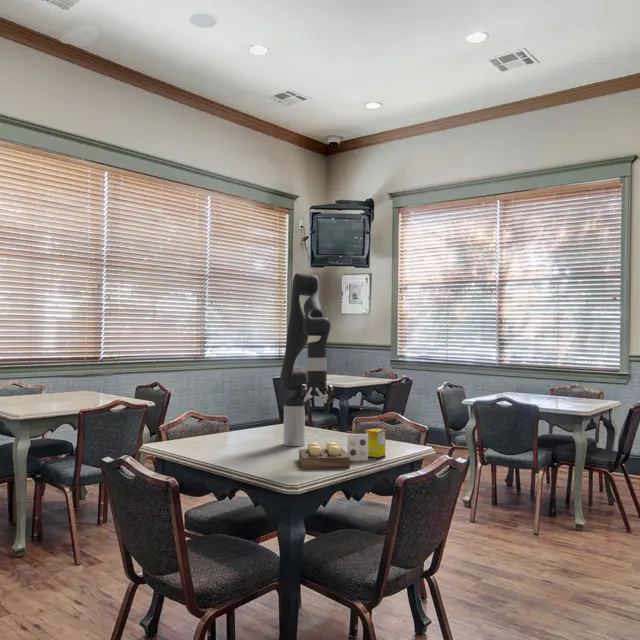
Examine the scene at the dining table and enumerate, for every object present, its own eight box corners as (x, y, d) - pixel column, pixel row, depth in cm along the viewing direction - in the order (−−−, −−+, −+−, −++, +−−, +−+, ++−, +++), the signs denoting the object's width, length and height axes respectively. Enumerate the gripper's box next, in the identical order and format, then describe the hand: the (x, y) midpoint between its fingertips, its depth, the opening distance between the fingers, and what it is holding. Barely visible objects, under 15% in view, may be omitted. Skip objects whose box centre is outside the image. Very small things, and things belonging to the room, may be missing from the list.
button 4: (327, 454, 225) (327, 445, 225) (339, 454, 226) (339, 445, 226) (329, 456, 221) (329, 447, 221) (340, 456, 222) (340, 447, 222)
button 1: (307, 450, 231) (307, 442, 231) (318, 450, 232) (318, 442, 232) (308, 453, 227) (308, 444, 227) (319, 452, 228) (319, 444, 228)
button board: (299, 459, 234) (299, 449, 234) (342, 458, 236) (342, 448, 236) (303, 469, 217) (303, 458, 217) (349, 468, 219) (349, 457, 219)
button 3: (325, 450, 232) (325, 442, 232) (336, 450, 233) (336, 442, 233) (326, 452, 228) (326, 444, 228) (337, 452, 229) (337, 444, 229)
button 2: (309, 454, 224) (309, 445, 225) (320, 454, 225) (320, 445, 225) (310, 456, 220) (310, 448, 220) (321, 456, 221) (321, 447, 221)
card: (347, 460, 233) (347, 434, 234) (367, 459, 234) (367, 433, 235) (347, 460, 233) (347, 434, 233) (368, 460, 234) (368, 434, 234)
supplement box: (373, 455, 244) (373, 428, 244) (385, 457, 240) (385, 429, 240) (364, 457, 239) (364, 429, 239) (377, 459, 235) (377, 431, 236)
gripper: (337, 369, 230) (337, 412, 229) (306, 368, 238) (306, 410, 237) (327, 370, 224) (327, 414, 223) (295, 369, 232) (295, 412, 231)
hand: (316, 412), depth 230 cm, fingers open, 8 cm apart
